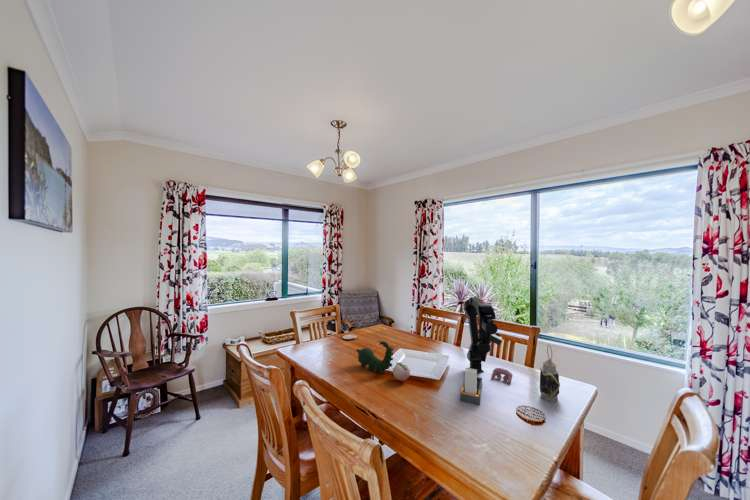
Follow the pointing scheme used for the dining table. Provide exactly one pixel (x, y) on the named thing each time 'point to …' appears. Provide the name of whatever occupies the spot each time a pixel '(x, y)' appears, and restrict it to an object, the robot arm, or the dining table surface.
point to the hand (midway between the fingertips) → (484, 358)
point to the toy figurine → (375, 358)
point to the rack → (471, 397)
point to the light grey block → (471, 381)
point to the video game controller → (505, 372)
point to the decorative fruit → (401, 371)
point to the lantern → (549, 380)
